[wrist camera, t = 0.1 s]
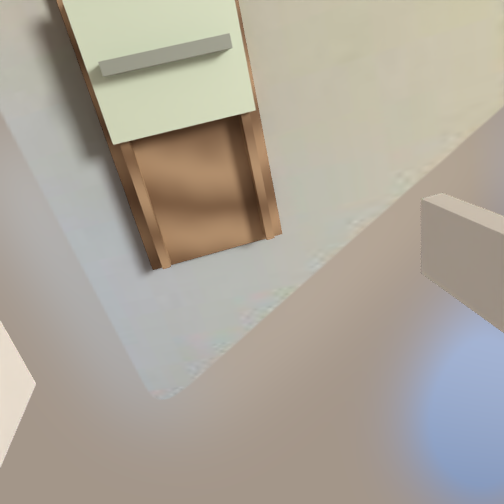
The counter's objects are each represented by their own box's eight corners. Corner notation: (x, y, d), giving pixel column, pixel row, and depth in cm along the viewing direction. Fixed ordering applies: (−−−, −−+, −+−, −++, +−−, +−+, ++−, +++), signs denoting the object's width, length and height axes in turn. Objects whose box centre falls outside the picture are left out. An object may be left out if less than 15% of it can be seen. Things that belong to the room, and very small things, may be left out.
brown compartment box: (48, -28, 30) (38, -38, 28) (223, -62, 31) (228, -74, 29) (153, 265, 41) (152, 276, 39) (279, 230, 42) (286, 239, 40)
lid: (60, -8, 28) (52, -15, 26) (225, -41, 30) (229, -50, 28) (113, 143, 33) (110, 147, 31) (254, 109, 34) (260, 111, 32)
